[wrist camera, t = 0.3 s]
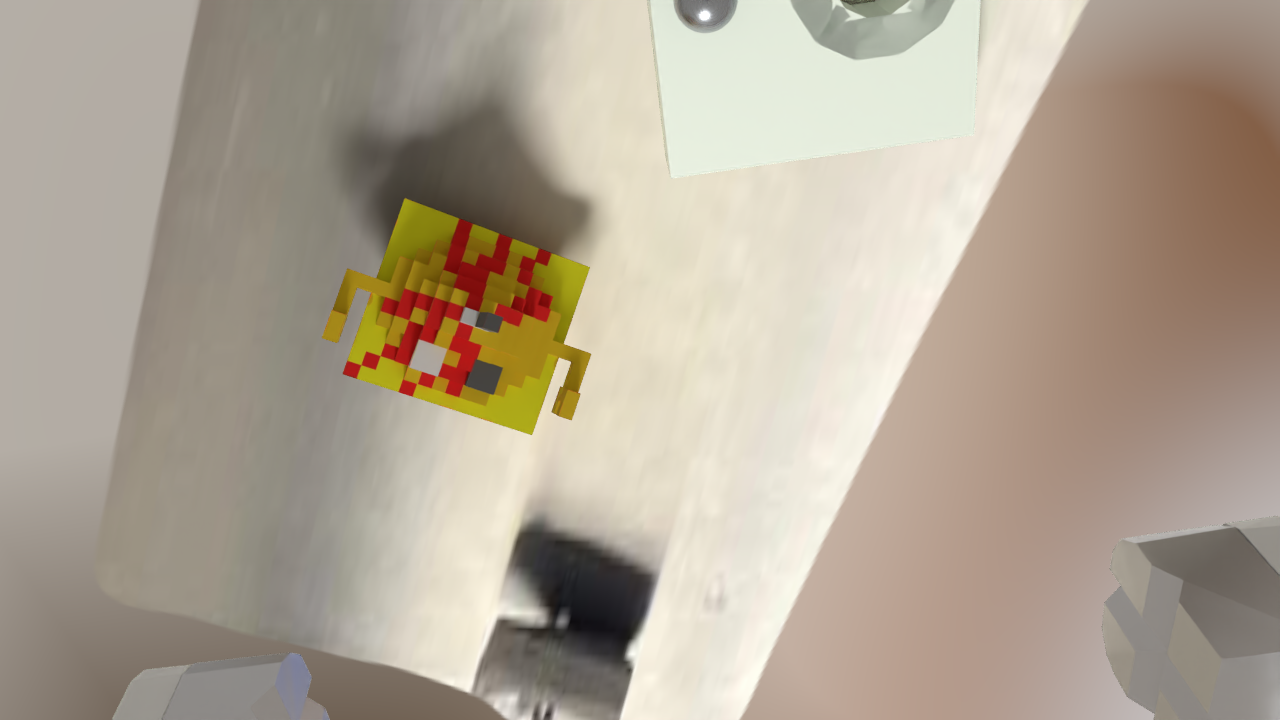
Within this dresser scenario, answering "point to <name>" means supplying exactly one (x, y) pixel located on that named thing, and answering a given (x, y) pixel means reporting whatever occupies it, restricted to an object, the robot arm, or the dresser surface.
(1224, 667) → the robot arm
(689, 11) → the ball
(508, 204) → the dresser surface
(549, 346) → the toy
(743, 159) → the board
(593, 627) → the dresser surface
